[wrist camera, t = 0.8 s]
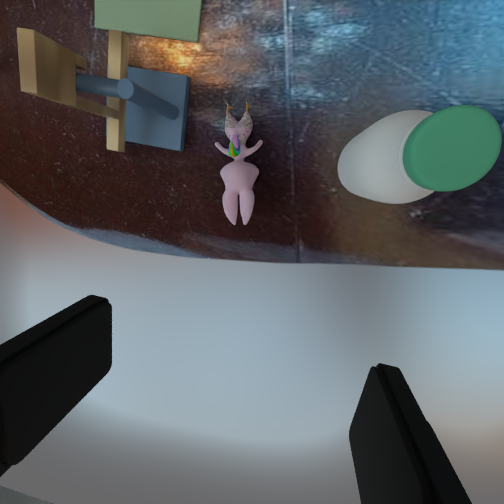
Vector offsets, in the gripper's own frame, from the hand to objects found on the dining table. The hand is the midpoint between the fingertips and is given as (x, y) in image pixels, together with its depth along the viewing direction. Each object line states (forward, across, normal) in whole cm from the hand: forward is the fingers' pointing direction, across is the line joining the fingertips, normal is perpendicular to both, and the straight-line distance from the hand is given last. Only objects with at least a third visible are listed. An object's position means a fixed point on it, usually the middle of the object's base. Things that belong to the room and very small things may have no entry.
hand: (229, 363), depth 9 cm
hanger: (+26, +23, -12) cm, 37 cm away
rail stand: (+30, +21, -12) cm, 38 cm away
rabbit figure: (+30, +7, -7) cm, 31 cm away
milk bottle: (+30, -9, -9) cm, 33 cm away
